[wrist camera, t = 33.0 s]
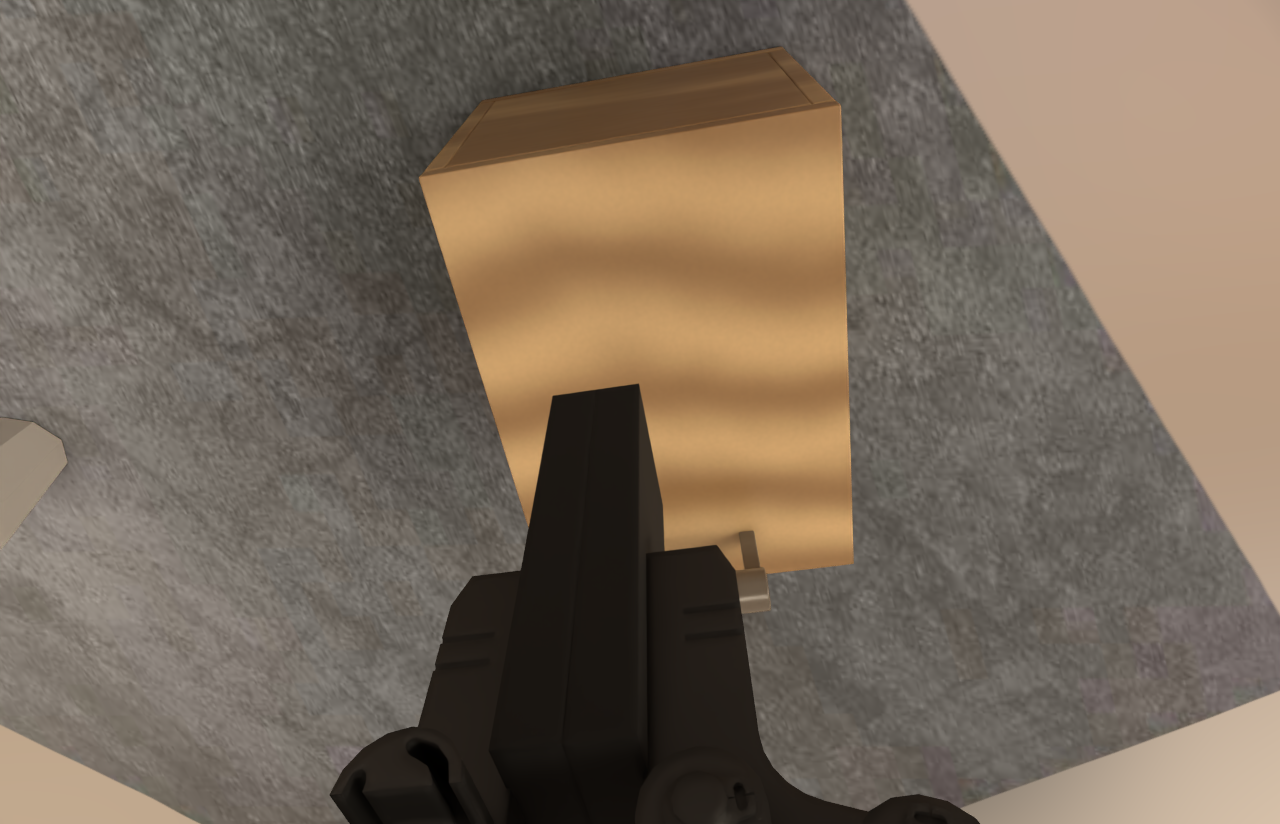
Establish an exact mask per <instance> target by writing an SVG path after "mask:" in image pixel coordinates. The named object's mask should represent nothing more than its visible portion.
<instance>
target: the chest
mask: <svg viewBox="0 0 1280 824" xmlns="http://www.w3.org/2000/svg"><path fill="white" fill-rule="evenodd" d="M830 101H835V100H834V99H833V98H832V97H831V96H830V95H829V94H828V93H827V92H826V91H825V90H824V89H823V88H822V87H821V86H820V84H819V83H818V82H817V81H816V80H815V79H814V78H813V77H812V76H811V75H810V74H809V73H808V72H807V71H806V70H805V69H804V68H803V67H802V66H801V65H800V64H799V63H798V62H797V61H796V60H795V59H794V58H793V57H792V56H791V55H790V54H789V53H788V52H787V51H786V50H785V49H784V48H783V47H776V48H770V49H764V50H759V51H753V52H748V53H742V54H737V55H731V56H726V57H720V58H715V59H709V60H703V61H698V62H692V63H687V64H681V65H676V66H670V67H665V68H659V69H654V70H648V71H642V72H637V73H631V74H626V75H620V76H615V77H609V78H604V79H598V80H593V81H587V82H581V83H576V84H570V85H565V86H559V87H554V88H548V89H543V90H537V91H532V92H526V93H520V94H515V95H509V96H504V97H498V98H493V99H487V100H482V101H481V102H480V103H479V105H478V106H477V107H476V109H475V110H474V111H473V112H472V113H471V115H470V116H469V117H468V118H467V120H466V121H465V122H464V123H463V124H462V126H461V127H460V128H459V129H458V131H457V132H456V133H455V134H454V135H453V137H452V138H451V139H450V140H449V141H448V143H447V144H446V145H445V146H444V148H443V149H442V150H441V151H440V152H439V154H438V155H437V156H436V157H435V159H434V160H433V161H432V162H431V163H430V165H429V166H428V167H427V168H426V170H425V171H430V170H436V169H442V168H447V167H453V166H459V165H465V164H471V163H476V162H482V161H488V160H494V159H499V158H505V157H511V156H517V155H523V154H528V153H534V152H540V151H546V150H552V149H557V148H563V147H569V146H575V145H581V144H586V143H592V142H598V141H604V140H610V139H615V138H621V137H627V136H633V135H638V134H644V133H650V132H656V131H662V130H667V129H673V128H679V127H685V126H691V125H696V124H702V123H708V122H714V121H720V120H725V119H731V118H737V117H743V116H748V115H754V114H760V113H766V112H772V111H777V110H783V109H789V108H795V107H801V106H806V105H812V104H818V103H824V102H830Z"/></svg>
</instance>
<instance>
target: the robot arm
mask: <svg viewBox="0 0 1280 824" xmlns="http://www.w3.org/2000/svg"><path fill="white" fill-rule="evenodd" d="M442 639H443V644H440V648H439V652H438V655H437V659H436V663H435V666H436V670H435V671H433V674H432V677H431V681H430V685H429V688H428V692H427V696H426V699H425V703H424V707H423V710H422V714H421V718H420V721H419V725H418V727H409V728H406V729H402V730H399V731H395V732H391V733H388V734H386V735H384V736H383V737H381V738H379V739H378V740H376V741H374V742H373V743H371V744H370V745H368V746H366V747H365V748H363V749H362V750H361V751H360V752H359V753H358V754H357V755H356V757H355V758H354V759H353V760H352V761H351V762H350V763H349V764H348V765H347V766H346V767H345V768H344V769H343V771H342V772H341V774H340V776H339V778H338V780H337V782H336V784H335V786H334V787H333V789H332V791H331V793H330V796H331V798H332V799H333V801H334V802H335V803H336V805H337V806H338V808H339V809H340V811H341V812H342V813H343V815H344V816H345V818H346V819H347V820H348V822H349V823H350V824H980V823H979V822H978V821H977V819H976V818H974V817H973V816H971V815H969V814H968V813H966V812H965V811H963V810H961V809H960V808H958V807H956V806H955V805H953V804H952V803H950V802H948V801H945V800H941V799H936V798H932V797H928V796H924V795H919V794H917V795H909V796H901V797H894V798H890V799H888V800H887V801H885V802H884V803H882V804H880V805H879V806H877V807H875V808H874V809H872V810H870V811H869V812H868V811H864V810H859V809H855V808H851V807H847V806H843V805H839V804H835V803H831V802H827V801H824V800H821V799H818V798H816V797H813V796H810V795H807V794H805V793H803V792H802V791H800V790H799V789H797V788H796V787H794V786H792V785H791V784H789V783H788V782H787V781H786V780H785V779H784V778H783V777H782V776H781V775H780V774H779V773H778V772H777V771H776V770H775V769H774V768H773V766H772V765H771V763H770V761H769V760H768V758H767V756H766V754H765V753H764V751H763V747H762V744H761V740H760V737H759V732H758V725H757V718H756V711H755V704H754V697H753V690H752V683H751V676H750V669H749V662H748V655H747V648H746V641H745V634H744V626H743V619H742V612H741V605H740V598H739V591H738V584H737V577H736V570H735V569H734V567H733V566H732V565H731V563H730V562H729V561H728V559H727V558H726V557H725V555H724V554H723V552H722V551H721V550H720V548H719V547H718V546H717V545H710V546H702V547H694V548H685V549H677V550H669V551H665V547H664V519H663V503H662V498H661V493H660V487H659V482H658V477H657V472H656V467H655V462H654V457H653V452H652V447H651V442H650V437H649V432H648V426H647V421H646V416H645V411H644V406H643V401H642V396H641V391H640V386H639V384H632V385H625V386H618V387H611V388H604V389H597V390H589V391H582V392H575V393H568V394H561V395H554V396H552V402H551V407H550V413H549V418H548V424H547V430H546V435H545V441H544V446H543V452H542V457H541V463H540V468H539V474H538V479H537V485H536V490H535V496H534V501H533V507H532V512H531V518H530V523H529V529H528V534H527V540H526V546H525V551H524V557H523V562H522V568H521V571H513V572H505V573H497V574H488V575H480V576H472V578H471V579H470V580H469V582H468V583H467V585H466V586H465V587H464V589H463V590H462V591H461V593H460V594H459V595H458V597H457V598H456V600H455V601H454V602H453V604H452V605H451V607H450V611H449V615H448V618H447V622H446V626H445V630H444V633H443V637H442Z"/></svg>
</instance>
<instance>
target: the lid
mask: <svg viewBox="0 0 1280 824" xmlns="http://www.w3.org/2000/svg"><path fill="white" fill-rule="evenodd" d="M419 181H420V184H421V187H422V191H423V194H424V197H425V200H426V203H427V206H428V210H429V213H430V216H431V219H432V222H433V226H434V229H435V232H436V235H437V238H438V241H439V245H440V248H441V251H442V254H443V257H444V260H445V264H446V267H447V270H448V273H449V276H450V280H451V283H452V286H453V289H454V292H455V295H456V299H457V302H458V305H459V308H460V311H461V315H462V318H463V321H464V324H465V327H466V330H467V334H468V337H469V340H470V343H471V346H472V349H473V353H474V356H475V359H476V362H477V365H478V369H479V372H480V375H481V378H482V381H483V384H484V388H485V391H486V394H487V397H488V400H489V404H490V407H491V410H492V413H493V416H494V419H495V423H496V426H497V429H498V432H499V435H500V438H501V442H502V445H503V448H504V451H505V454H506V458H507V461H508V464H509V467H510V470H511V473H512V477H513V480H514V483H515V486H516V489H517V492H518V496H519V499H520V502H521V505H522V508H523V512H524V515H525V518H526V521H527V524H528V527H529V523H530V518H531V512H532V507H533V501H534V496H535V490H536V485H537V479H538V474H539V468H540V463H541V457H542V452H543V446H544V441H545V435H546V430H547V424H548V418H549V413H550V407H551V402H552V396H554V395H561V394H568V393H575V392H582V391H589V390H597V389H604V388H611V387H618V386H625V385H632V384H639V386H640V391H641V396H642V401H643V406H644V411H645V416H646V421H647V426H648V432H649V437H650V442H651V447H652V452H653V457H654V462H655V467H656V472H657V477H658V482H659V487H660V493H661V498H662V503H663V519H664V547H665V551H669V550H677V549H685V548H694V547H702V546H710V545H717V546H718V547H719V548H720V550H721V551H722V552H723V554H724V555H725V557H726V558H727V559H728V561H729V562H730V563H731V565H732V566H733V567H734V569H735V570H736V577H737V584H738V591H739V598H740V605H741V612H742V614H745V613H754V612H763V611H770V610H771V602H770V594H769V587H768V581H767V575H766V574H770V573H779V572H787V571H796V570H804V569H813V568H821V567H830V566H838V565H847V564H853V563H854V559H853V523H852V486H851V450H850V414H849V378H848V342H847V305H846V269H845V233H844V197H843V161H842V124H841V105H840V104H839V103H838V102H837V101H830V102H824V103H818V104H812V105H806V106H801V107H795V108H789V109H783V110H777V111H772V112H766V113H760V114H754V115H748V116H743V117H737V118H731V119H725V120H720V121H714V122H708V123H702V124H696V125H691V126H685V127H679V128H673V129H667V130H662V131H656V132H650V133H644V134H638V135H633V136H627V137H621V138H615V139H610V140H604V141H598V142H592V143H586V144H581V145H575V146H569V147H563V148H557V149H552V150H546V151H540V152H534V153H528V154H523V155H517V156H511V157H505V158H499V159H494V160H488V161H482V162H476V163H471V164H465V165H459V166H453V167H447V168H442V169H436V170H430V171H425V172H423V173H422V174H421V175H420V176H419Z"/></svg>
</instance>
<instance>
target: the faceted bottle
mask: <svg viewBox="0 0 1280 824" xmlns="http://www.w3.org/2000/svg"><path fill="white" fill-rule="evenodd" d="M67 463H68V462H67V458H66V455H65V451H64V447H63V444H62V440H61V439H59V438H57V437H56V436H54V435H53V434H51V433H50V432H48V431H46V430H45V429H43V428H42V427H40V426H39V425H37V424H35V423H34V422H29V421H23V420H16V419H10V418H3V417H1V418H0V550H1V549H2V548H3V546H4V545H5V544H6V543H7V542H8V541H9V539H10V538H11V537H12V535H13V534H14V533H15V531H16V530H17V529H18V527H19V526H20V525H21V523H22V522H23V521H24V519H25V518H26V517H27V516H28V514H29V513H30V512H31V510H32V509H33V508H34V506H35V505H36V504H37V502H38V501H39V500H40V498H41V497H42V496H43V494H44V493H45V492H46V491H47V489H48V488H49V487H50V485H51V484H52V483H53V481H54V480H55V479H56V477H57V476H58V475H59V473H60V472H61V471H62V470H63V468H64V467H65V466H66V464H67Z"/></svg>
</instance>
